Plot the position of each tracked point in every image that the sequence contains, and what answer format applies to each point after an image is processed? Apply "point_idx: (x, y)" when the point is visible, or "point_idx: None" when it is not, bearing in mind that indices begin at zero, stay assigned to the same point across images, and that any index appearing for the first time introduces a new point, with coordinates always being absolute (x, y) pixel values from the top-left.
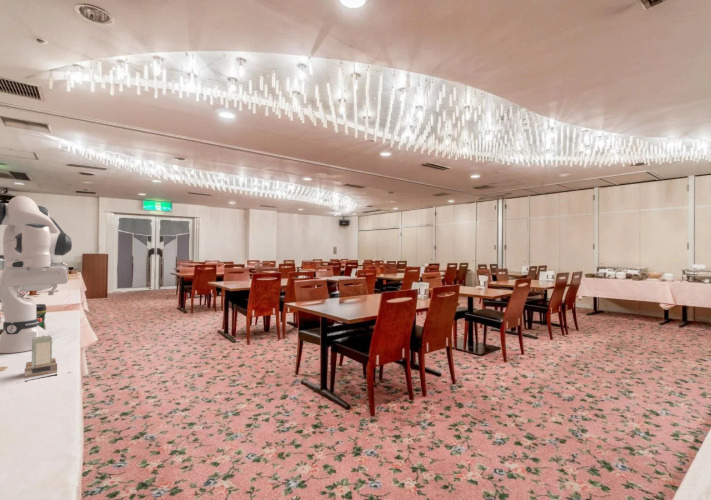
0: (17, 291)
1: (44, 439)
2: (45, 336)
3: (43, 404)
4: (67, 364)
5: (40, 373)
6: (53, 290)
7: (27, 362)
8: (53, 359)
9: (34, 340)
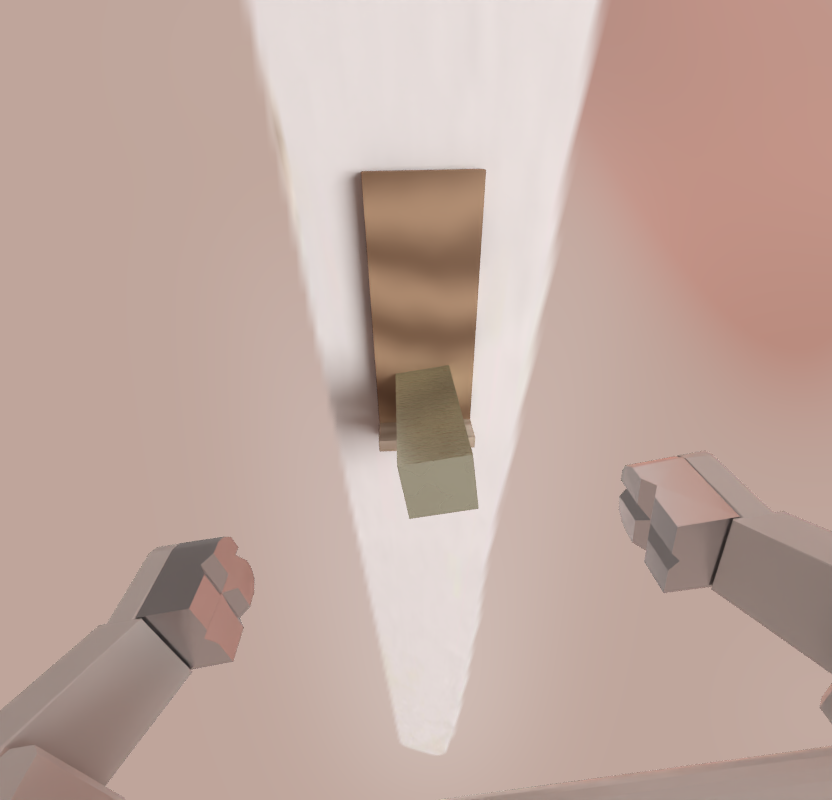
0: (134, 722)
1: (428, 693)
2: (454, 471)
3: (428, 603)
4: (516, 296)
5: None
6: (751, 594)
7: (365, 175)
8: (475, 202)
9: (409, 515)
